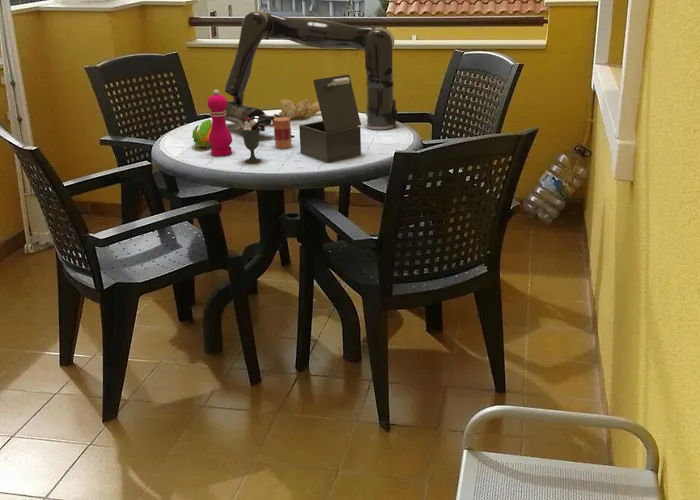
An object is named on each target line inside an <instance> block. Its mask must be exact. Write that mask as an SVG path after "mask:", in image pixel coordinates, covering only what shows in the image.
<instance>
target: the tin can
mask: <svg viewBox="0 0 700 500" xmlns="http://www.w3.org/2000/svg"><path fill="white" fill-rule="evenodd" d="M291 126H292V125H291V119H290V118H287V117H279V118H275V119H274V127H273V132H274V134H273V135H274V147H275V148H276V149H278V150H284V149H285V150H286V149H290V148H292V145H293V144H292V127H291Z"/></svg>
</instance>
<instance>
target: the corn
mask: <svg viewBox="0 0 700 500" xmlns="http://www.w3.org/2000/svg"><path fill="white" fill-rule="evenodd" d="M211 128H212V119H205V120H203V121H202V122H201V124H200V125H196V126H195V128H194V129H193V130H192V135H191V137H192V139H193V142H194V144H195V146H197V147H198V148H201V147H203V148H209V147H212V146H211V145H210V143H209V134H210V131H211Z"/></svg>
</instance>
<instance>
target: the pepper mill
mask: <svg viewBox="0 0 700 500" xmlns="http://www.w3.org/2000/svg"><path fill="white" fill-rule="evenodd" d="M212 92H213V95H210V96H208V99H207V103H206V105H207V107H208V109H209V110H210V111H209V116H210V117H211V121H212V128H211V131H210V134H209V143H210V145H211V146H210V147H211V148H210V153H211V155H212V156H215V157H225V156H229V155H231V154H232V152H233V151H232V147H231V144H232V142H233V137H232V134H231V131H230V130H229V127H228V125H227V121H225V115H226V110H225V108H226V107H227V100H228V99H227V98H226V96H225V95H222V94H220V90H218V89H214V90H213V91H212Z"/></svg>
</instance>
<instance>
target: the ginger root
mask: <svg viewBox="0 0 700 500" xmlns="http://www.w3.org/2000/svg"><path fill="white" fill-rule="evenodd" d="M280 110H281V111H280V112H279V114H278V115H282V116H285V117H287V118H290V120H291V119H307V118H308V117H310V116H313V115H316V114H317V113H320V112H321V111H320V107H319V103H318V100H317V101H315V102H313V103H310V101H309V99H307V98H304V99H302V100H301V101H300V102H298V103H295V102H293V101H292V100H290V99H287V98H286V99H283V98H282V99H280Z"/></svg>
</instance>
